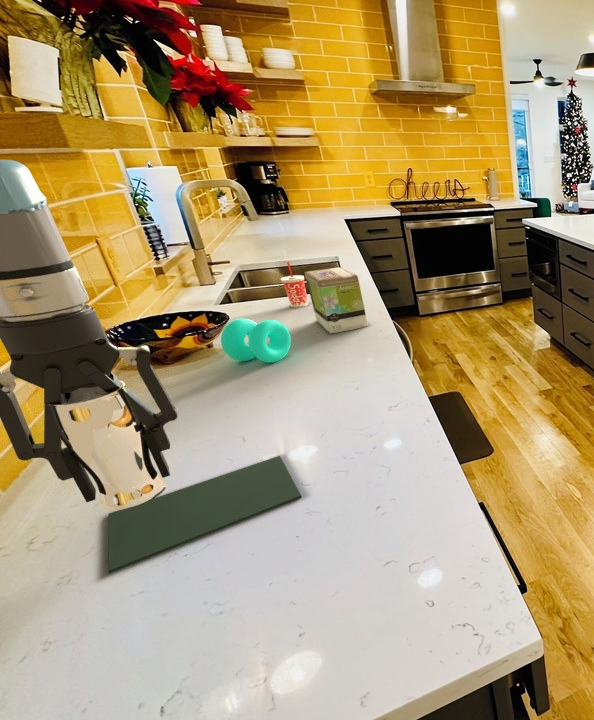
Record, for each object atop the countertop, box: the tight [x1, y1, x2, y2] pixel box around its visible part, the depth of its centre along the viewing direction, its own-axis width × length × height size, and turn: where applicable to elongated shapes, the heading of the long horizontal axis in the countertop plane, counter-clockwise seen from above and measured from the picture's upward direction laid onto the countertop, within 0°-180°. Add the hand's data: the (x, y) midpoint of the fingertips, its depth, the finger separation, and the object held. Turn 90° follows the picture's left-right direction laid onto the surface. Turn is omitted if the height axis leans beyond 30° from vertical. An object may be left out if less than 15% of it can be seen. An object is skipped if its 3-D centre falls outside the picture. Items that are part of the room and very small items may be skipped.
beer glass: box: [47, 380, 167, 512], centre depth 62 cm, size 7×7×15 cm
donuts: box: [220, 318, 292, 364], centre depth 116 cm, size 10×10×10 cm
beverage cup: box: [280, 261, 309, 308], centre depth 155 cm, size 6×6×14 cm
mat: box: [107, 455, 303, 574], centre depth 70 cm, size 14×20×1 cm
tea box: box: [304, 266, 369, 334], centre depth 139 cm, size 15×10×15 cm, turn 43°
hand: (129, 483), depth 64 cm, fingers closed on beer glass, 6 cm apart
